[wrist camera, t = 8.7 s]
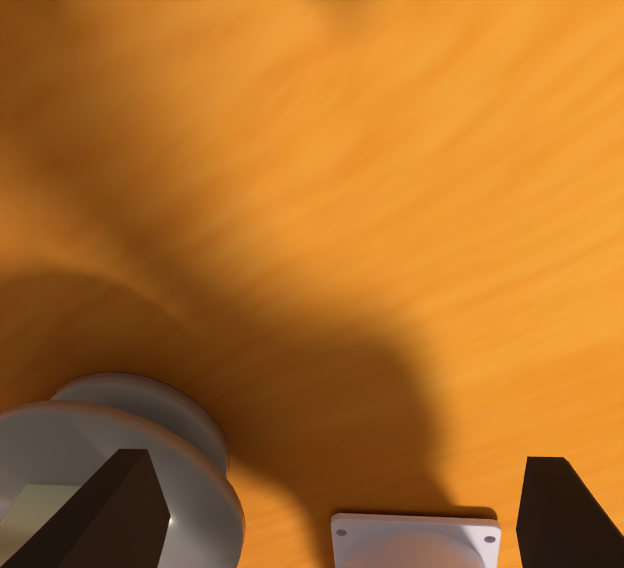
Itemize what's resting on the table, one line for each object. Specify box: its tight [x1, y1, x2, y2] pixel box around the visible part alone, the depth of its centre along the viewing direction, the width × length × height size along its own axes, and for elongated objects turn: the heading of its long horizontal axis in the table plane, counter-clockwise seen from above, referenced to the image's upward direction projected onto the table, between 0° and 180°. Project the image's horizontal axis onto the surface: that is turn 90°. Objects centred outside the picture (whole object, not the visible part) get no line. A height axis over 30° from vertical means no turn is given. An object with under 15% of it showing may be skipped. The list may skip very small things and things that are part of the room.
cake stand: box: [0, 372, 246, 568], centre depth 23 cm, size 12×12×4 cm
